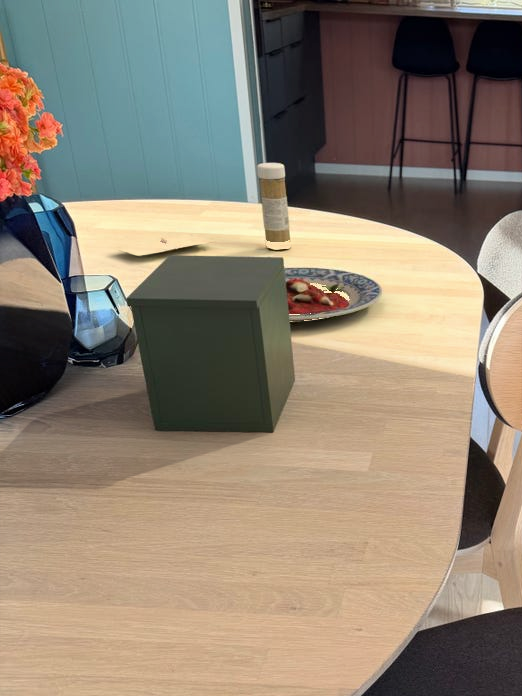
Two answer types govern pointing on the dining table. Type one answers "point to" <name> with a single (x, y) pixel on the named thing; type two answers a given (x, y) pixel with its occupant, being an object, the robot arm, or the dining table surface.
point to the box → (217, 364)
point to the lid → (207, 282)
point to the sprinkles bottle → (274, 201)
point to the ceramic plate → (327, 304)
